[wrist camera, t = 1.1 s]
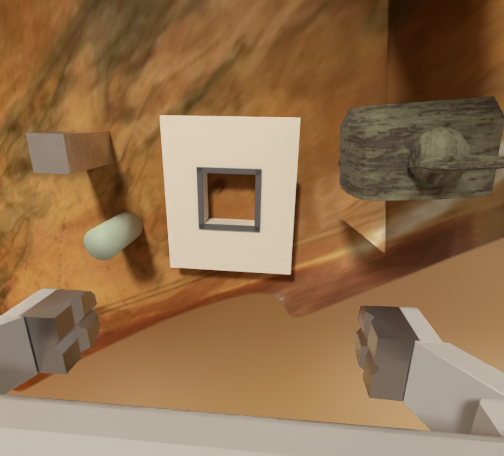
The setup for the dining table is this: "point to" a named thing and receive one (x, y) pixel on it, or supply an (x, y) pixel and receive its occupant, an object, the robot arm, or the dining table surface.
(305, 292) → the dining table surface
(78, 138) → the square peg
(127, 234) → the round peg
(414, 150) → the tabletop clock
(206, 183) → the socket board
